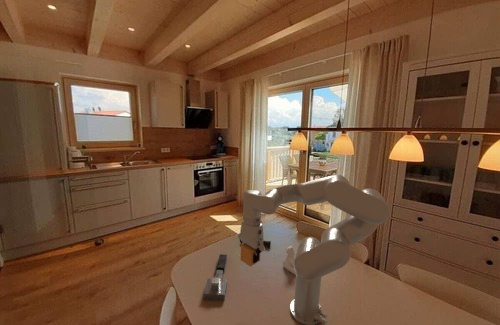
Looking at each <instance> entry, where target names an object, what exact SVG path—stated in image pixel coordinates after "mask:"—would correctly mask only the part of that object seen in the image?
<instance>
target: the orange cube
mask: <svg viewBox="0 0 500 325" xmlns="http://www.w3.org/2000/svg"><path fill="white" fill-rule="evenodd" d="M256 250H257V249H256ZM257 251H258V250H257ZM253 255H254V250H253V248H252V247H250V246H248V245H247V244H242V245H241V244H240V261H241V262H242V263H244V264H246V265H248V266H249V267H252V266H253V265H255V264H257V263H258V262H260V261H261V253H259V261H258V262H256V263H253Z"/></svg>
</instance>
